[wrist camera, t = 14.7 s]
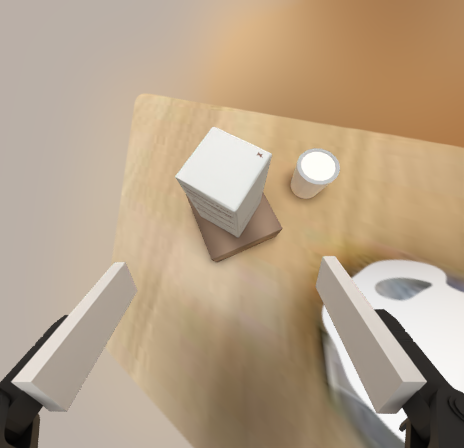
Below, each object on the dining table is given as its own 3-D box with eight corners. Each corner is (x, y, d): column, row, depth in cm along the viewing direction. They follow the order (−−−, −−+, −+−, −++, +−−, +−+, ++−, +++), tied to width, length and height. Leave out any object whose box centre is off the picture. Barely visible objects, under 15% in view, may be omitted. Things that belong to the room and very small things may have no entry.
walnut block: (248, 184, 38) (250, 167, 32) (275, 236, 35) (282, 228, 29) (194, 207, 37) (185, 194, 32) (216, 262, 34) (211, 259, 28)
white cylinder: (319, 205, 36) (337, 188, 29) (284, 197, 37) (293, 179, 30) (324, 174, 38) (342, 151, 31) (290, 167, 38) (300, 144, 32)
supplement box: (223, 181, 32) (213, 122, 20) (261, 202, 31) (275, 152, 18) (199, 216, 30) (171, 175, 18) (238, 240, 29) (236, 212, 17)
